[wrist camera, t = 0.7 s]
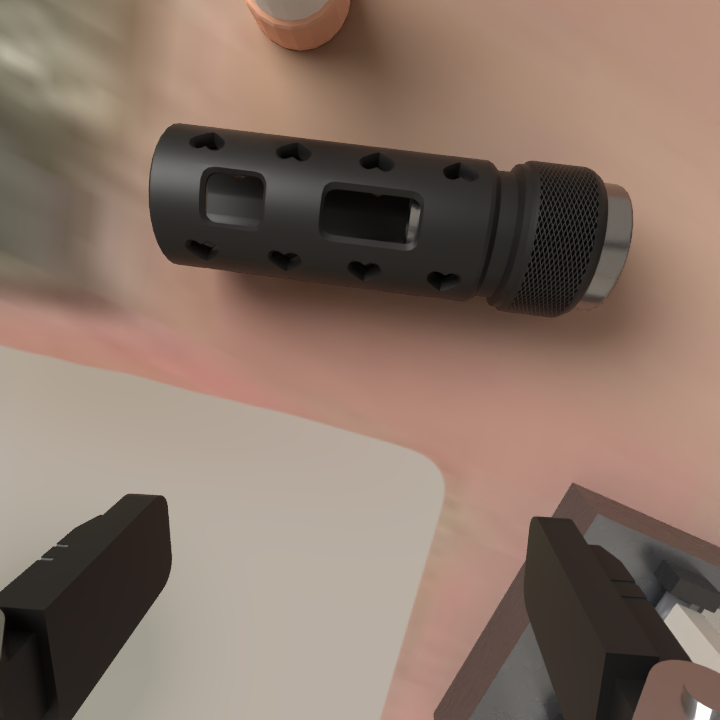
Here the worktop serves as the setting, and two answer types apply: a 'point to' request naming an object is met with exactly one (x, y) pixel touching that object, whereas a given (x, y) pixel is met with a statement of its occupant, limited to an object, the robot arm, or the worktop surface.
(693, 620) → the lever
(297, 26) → the pepper shaker
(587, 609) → the robot arm
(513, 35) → the worktop surface
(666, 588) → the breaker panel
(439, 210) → the muzzle brake
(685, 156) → the worktop surface
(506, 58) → the worktop surface
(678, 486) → the worktop surface
